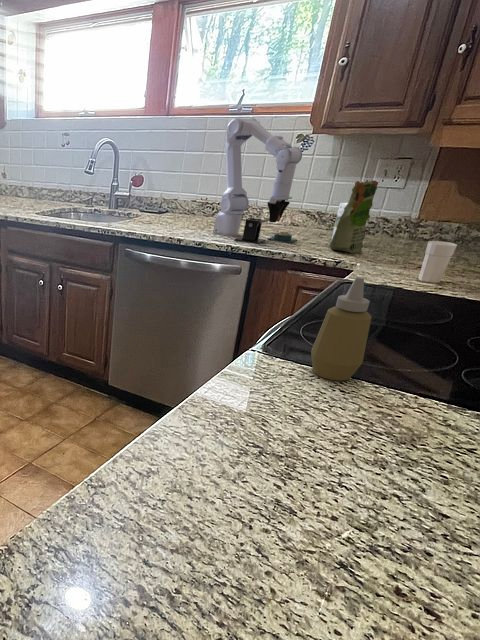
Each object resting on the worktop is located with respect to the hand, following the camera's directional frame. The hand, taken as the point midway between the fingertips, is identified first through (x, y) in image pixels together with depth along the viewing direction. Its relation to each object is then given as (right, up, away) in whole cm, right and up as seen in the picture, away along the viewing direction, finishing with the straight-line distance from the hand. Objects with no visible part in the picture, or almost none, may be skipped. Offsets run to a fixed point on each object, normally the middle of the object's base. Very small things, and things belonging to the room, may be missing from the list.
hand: (274, 221), depth 195 cm
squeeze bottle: (-42, -54, -100) cm, 121 cm away
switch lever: (-2, 0, +2) cm, 3 cm away
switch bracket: (-5, -6, +8) cm, 11 cm away
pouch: (+24, -12, -4) cm, 27 cm away
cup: (+25, -28, -40) cm, 55 cm away
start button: (+8, -3, +8) cm, 12 cm away
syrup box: (+33, -5, +13) cm, 36 cm away
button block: (+8, -6, +9) cm, 13 cm away
